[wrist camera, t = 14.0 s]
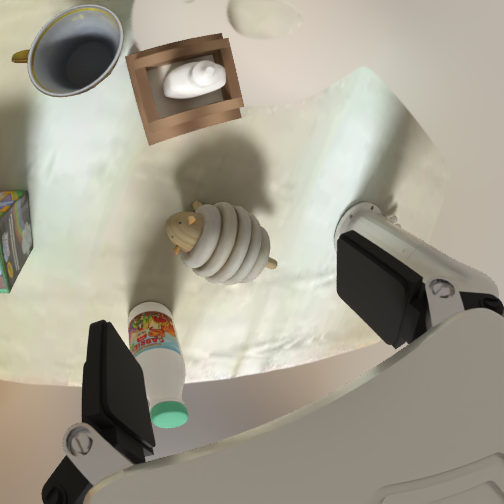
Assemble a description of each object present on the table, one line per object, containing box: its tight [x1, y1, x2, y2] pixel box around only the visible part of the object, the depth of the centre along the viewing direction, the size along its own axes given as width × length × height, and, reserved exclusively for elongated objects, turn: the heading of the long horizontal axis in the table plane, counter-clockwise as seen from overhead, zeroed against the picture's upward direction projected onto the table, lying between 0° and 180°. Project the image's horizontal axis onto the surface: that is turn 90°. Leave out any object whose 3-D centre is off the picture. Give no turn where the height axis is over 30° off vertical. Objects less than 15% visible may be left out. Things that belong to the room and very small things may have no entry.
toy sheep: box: [166, 201, 277, 285], centre depth 37 cm, size 11×17×11 cm, turn 62°
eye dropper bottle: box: [163, 60, 226, 99], centre depth 24 cm, size 4×6×12 cm
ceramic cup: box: [12, 4, 124, 97], centre depth 19 cm, size 13×10×10 cm
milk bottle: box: [128, 302, 188, 428], centre depth 36 cm, size 8×8×20 cm
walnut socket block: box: [125, 33, 244, 146], centre depth 28 cm, size 12×12×6 cm
